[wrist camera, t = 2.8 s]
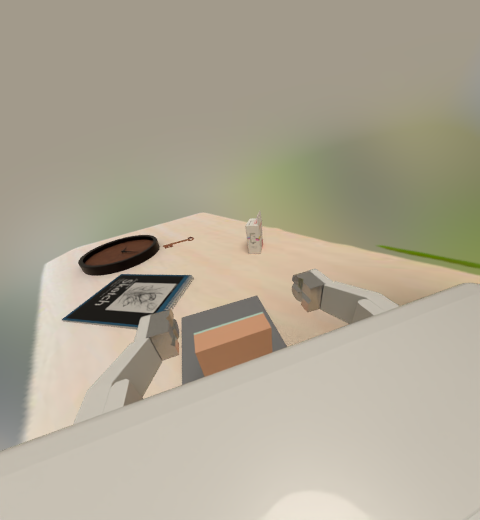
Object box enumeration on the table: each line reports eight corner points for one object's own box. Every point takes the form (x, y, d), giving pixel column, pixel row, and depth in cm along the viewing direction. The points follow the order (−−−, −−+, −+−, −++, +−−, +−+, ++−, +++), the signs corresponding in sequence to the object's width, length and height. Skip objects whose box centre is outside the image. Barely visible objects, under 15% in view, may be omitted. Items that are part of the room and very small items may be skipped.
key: (164, 250, 84) (195, 241, 89) (163, 249, 84) (195, 240, 88) (163, 245, 89) (192, 237, 93) (162, 244, 88) (192, 235, 93)
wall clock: (75, 252, 83) (144, 230, 100) (80, 260, 85) (147, 237, 102) (82, 277, 62) (167, 244, 79) (88, 286, 64) (170, 252, 81)
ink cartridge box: (251, 244, 78) (248, 210, 70) (263, 244, 76) (261, 210, 69) (248, 254, 70) (244, 217, 63) (260, 254, 69) (258, 217, 62)
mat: (257, 297, 49) (256, 295, 48) (304, 379, 30) (305, 377, 30) (182, 319, 45) (181, 317, 44) (183, 429, 26) (182, 428, 26)
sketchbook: (122, 277, 68) (120, 272, 67) (195, 279, 61) (194, 274, 60) (64, 322, 50) (59, 317, 49) (158, 333, 43) (155, 327, 42)
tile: (266, 362, 33) (262, 311, 26) (273, 379, 30) (271, 327, 24) (212, 383, 31) (193, 333, 24) (215, 403, 28) (195, 353, 22)
